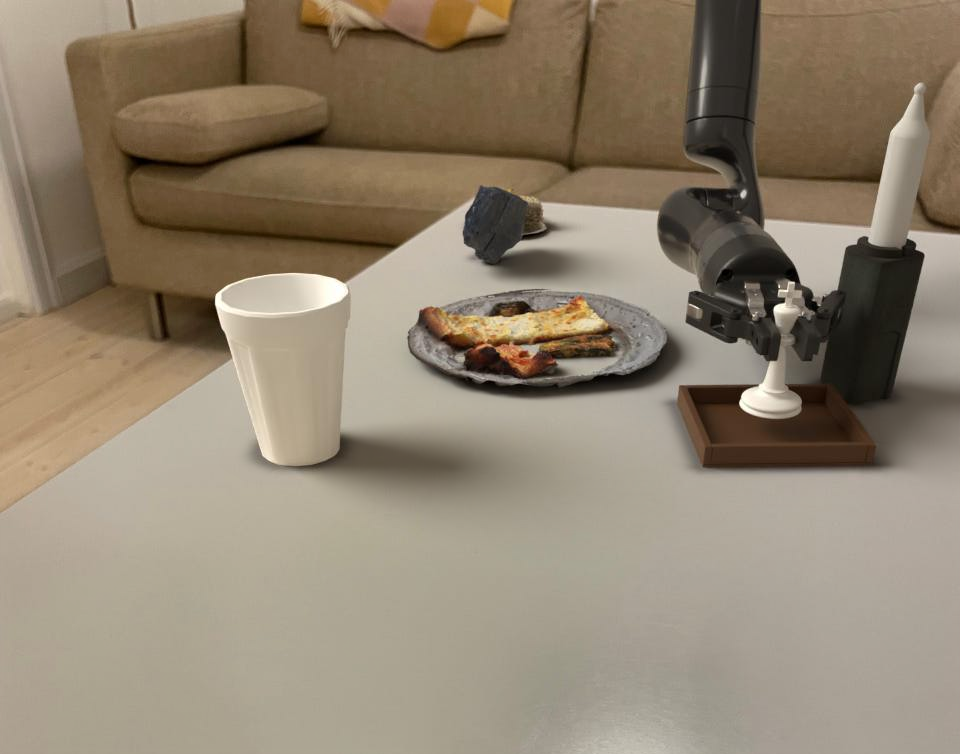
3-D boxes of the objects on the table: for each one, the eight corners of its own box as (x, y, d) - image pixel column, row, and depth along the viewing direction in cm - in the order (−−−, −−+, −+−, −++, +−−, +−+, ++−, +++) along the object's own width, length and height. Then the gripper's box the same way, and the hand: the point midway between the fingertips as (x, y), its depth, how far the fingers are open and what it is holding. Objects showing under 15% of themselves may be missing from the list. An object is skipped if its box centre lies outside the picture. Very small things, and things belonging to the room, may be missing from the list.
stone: (482, 246, 132) (482, 162, 127) (529, 248, 132) (531, 163, 126) (461, 279, 121) (460, 188, 116) (512, 282, 120) (514, 190, 115)
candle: (849, 413, 90) (918, 90, 75) (811, 391, 94) (871, 80, 79) (895, 403, 92) (972, 85, 77) (857, 382, 96) (923, 76, 81)
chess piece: (737, 392, 87) (756, 271, 81) (798, 395, 86) (821, 273, 80) (741, 417, 83) (760, 292, 77) (804, 421, 82) (829, 295, 76)
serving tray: (827, 408, 91) (832, 383, 90) (870, 472, 81) (877, 444, 80) (676, 409, 91) (679, 384, 90) (701, 473, 81) (705, 446, 80)
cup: (228, 440, 87) (202, 281, 79) (344, 421, 90) (330, 266, 82) (253, 492, 79) (227, 323, 71) (379, 469, 82) (367, 304, 74)
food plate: (428, 412, 91) (427, 373, 89) (391, 323, 109) (389, 290, 107) (698, 387, 95) (703, 349, 93) (619, 306, 113) (621, 273, 111)
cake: (457, 236, 138) (454, 192, 136) (504, 221, 145) (502, 180, 142) (515, 242, 133) (513, 197, 130) (562, 227, 139) (561, 184, 136)
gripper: (671, 233, 90) (707, 300, 76) (830, 232, 90) (895, 299, 76) (662, 318, 95) (695, 396, 81) (814, 317, 95) (873, 395, 81)
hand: (792, 348), depth 79 cm, fingers closed on chess piece
